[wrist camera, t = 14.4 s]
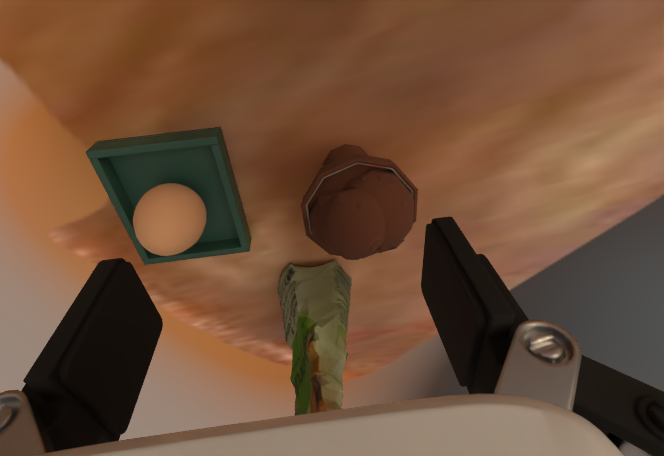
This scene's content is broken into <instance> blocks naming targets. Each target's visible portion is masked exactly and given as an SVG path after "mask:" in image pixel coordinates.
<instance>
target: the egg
mask: <svg viewBox="0 0 664 456" xmlns="http://www.w3.org/2000/svg"><path fill="white" fill-rule="evenodd" d="M206 214H207V213H206V208H205V205H204V203H203V201H202V199H201V198H200V196H199V195H198V194H197V193H196V192H195V191H193V190H192V189H190V188H189V187H187V186H184V185H181V184H177V183H166V184H161V185H158V186H156V187H154V188H152V189H150V190H149V191H148V192H146V193H145V194H144V195H143V196H142V198H141V199H140V201H139V202H138V204H137V206H136V208H135V211H134V216H133V226H134V230H135V234H136V237H137V239H138V240H139V242H140V244H141V245H142V246H143V247H144V248H145V249H147V250H148V251H150V252H151V253H154V254H157V255H160V256H170V255H175V254H178V253H181V252H183V251H185V250H187V249H188V248H190V247H191V246H193V245H194V244H195V243H196V242H197V241H198V239H199V238H200V236H201V235H202V233H203V230H204V228H205V225H206Z"/></svg>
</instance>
